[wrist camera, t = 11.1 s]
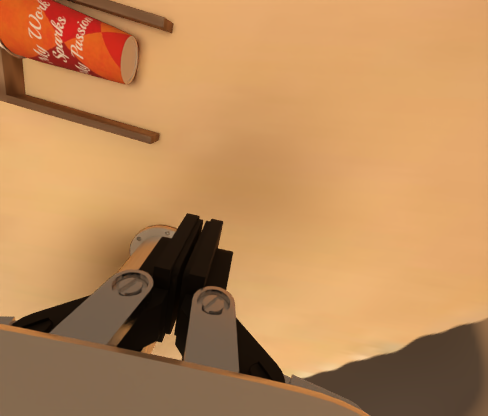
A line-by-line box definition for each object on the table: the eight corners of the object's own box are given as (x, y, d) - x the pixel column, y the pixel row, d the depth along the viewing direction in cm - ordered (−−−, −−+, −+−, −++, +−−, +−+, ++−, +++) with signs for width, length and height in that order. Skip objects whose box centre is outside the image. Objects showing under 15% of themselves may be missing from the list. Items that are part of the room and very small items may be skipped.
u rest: (158, 140, 39) (150, 144, 36) (19, 99, 38) (-1, 100, 35) (173, 23, 32) (164, 17, 29) (5, -29, 31) (-19, -40, 29)
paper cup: (114, 96, 30) (-17, 54, 28) (137, 90, 37) (33, 55, 35) (119, 19, 27) (-32, -37, 24) (144, 27, 33) (27, -17, 31)
